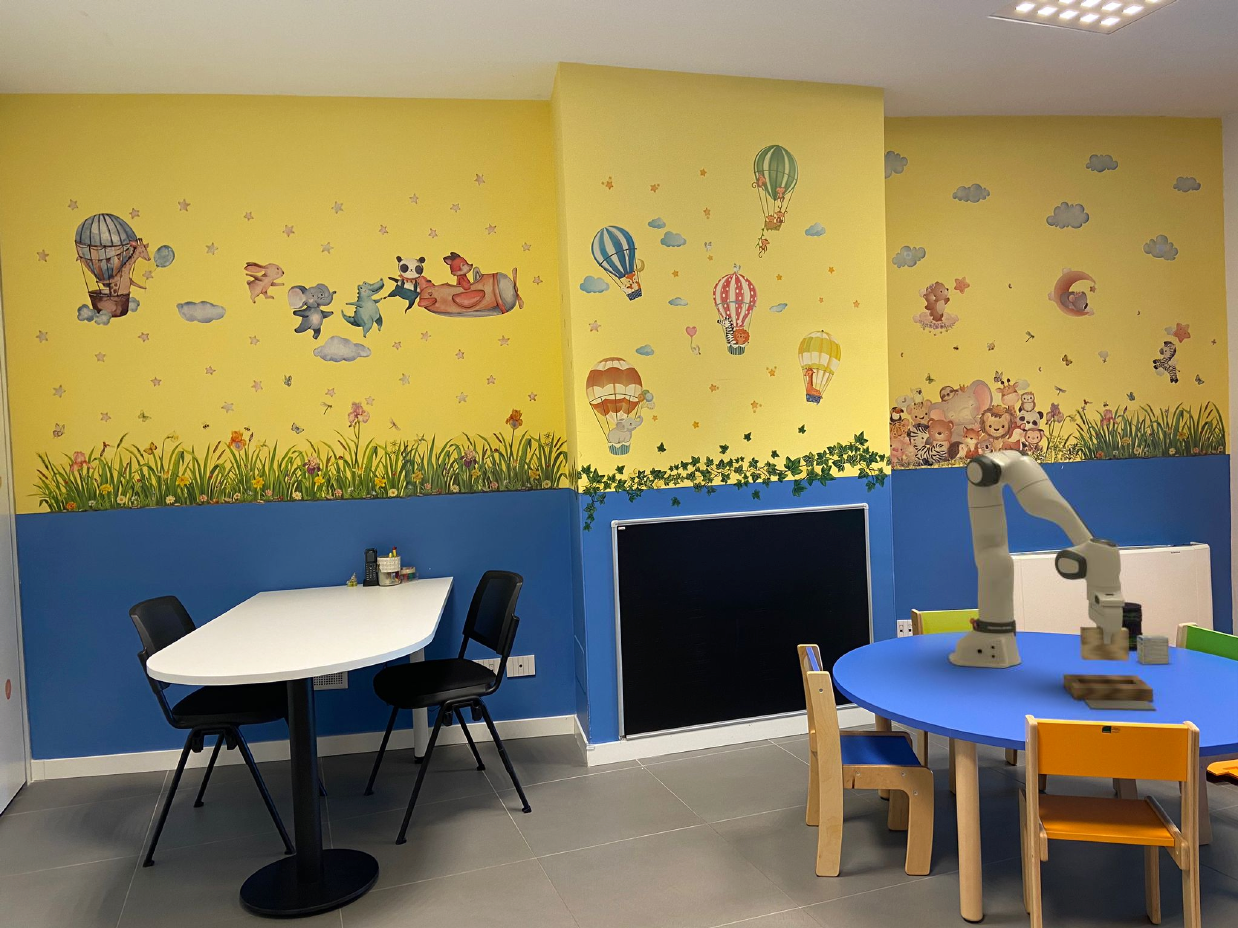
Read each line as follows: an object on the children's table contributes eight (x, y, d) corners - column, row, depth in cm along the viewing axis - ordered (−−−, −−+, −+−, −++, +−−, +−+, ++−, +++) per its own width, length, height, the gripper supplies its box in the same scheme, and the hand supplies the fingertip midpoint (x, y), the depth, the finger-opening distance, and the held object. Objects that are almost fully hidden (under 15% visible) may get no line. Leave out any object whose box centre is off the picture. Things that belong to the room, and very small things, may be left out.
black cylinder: (1150, 649, 303) (1148, 606, 302) (1124, 652, 301) (1123, 608, 300) (1129, 642, 312) (1127, 600, 312) (1104, 645, 311) (1102, 603, 310)
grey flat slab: (1091, 709, 245) (1091, 707, 245) (1084, 701, 252) (1084, 699, 252) (1155, 710, 241) (1155, 708, 241) (1147, 702, 248) (1147, 700, 248)
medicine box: (1162, 660, 289) (1161, 634, 288) (1169, 664, 284) (1168, 637, 284) (1137, 661, 289) (1136, 635, 289) (1143, 664, 285) (1143, 638, 285)
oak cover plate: (1083, 659, 258) (1083, 629, 258) (1080, 657, 261) (1080, 626, 261) (1129, 660, 255) (1128, 630, 255) (1125, 658, 258) (1125, 627, 258)
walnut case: (1075, 699, 254) (1075, 687, 254) (1063, 685, 268) (1063, 674, 268) (1153, 701, 249) (1152, 688, 249) (1137, 686, 263) (1136, 675, 263)
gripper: (1082, 587, 268) (1082, 633, 269) (1101, 601, 249) (1102, 649, 249) (1105, 588, 267) (1105, 633, 267) (1126, 601, 247) (1127, 650, 248)
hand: (1104, 641), depth 258 cm, fingers closed on oak cover plate, 3 cm apart
